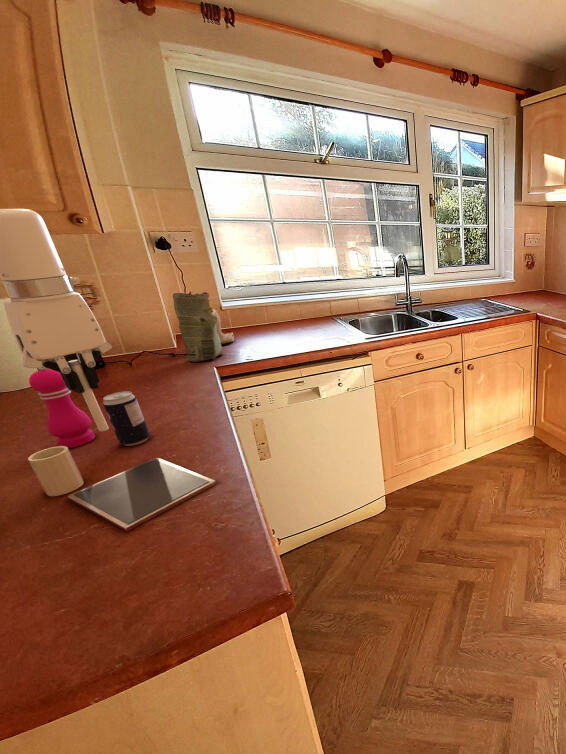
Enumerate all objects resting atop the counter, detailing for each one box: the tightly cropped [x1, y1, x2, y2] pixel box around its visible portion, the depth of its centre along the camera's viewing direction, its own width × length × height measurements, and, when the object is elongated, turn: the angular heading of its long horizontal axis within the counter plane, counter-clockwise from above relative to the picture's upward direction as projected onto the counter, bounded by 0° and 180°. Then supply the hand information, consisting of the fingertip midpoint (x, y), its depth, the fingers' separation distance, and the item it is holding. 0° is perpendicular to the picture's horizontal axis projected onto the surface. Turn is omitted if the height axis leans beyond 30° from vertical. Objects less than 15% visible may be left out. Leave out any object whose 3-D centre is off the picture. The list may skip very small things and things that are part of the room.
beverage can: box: [102, 390, 151, 447], centre depth 98 cm, size 6×6×12 cm
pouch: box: [172, 291, 224, 363], centre depth 154 cm, size 11×12×25 cm
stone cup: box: [211, 308, 235, 345], centre depth 172 cm, size 15×12×15 cm
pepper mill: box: [28, 368, 96, 449], centre depth 97 cm, size 7×7×20 cm
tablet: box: [66, 456, 217, 533], centre depth 82 cm, size 15×21×1 cm
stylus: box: [67, 359, 110, 432], centre depth 78 cm, size 1×1×14 cm
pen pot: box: [27, 445, 85, 497], centre depth 82 cm, size 5×5×8 cm
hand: (85, 389), depth 78 cm, fingers closed on stylus, 1 cm apart
